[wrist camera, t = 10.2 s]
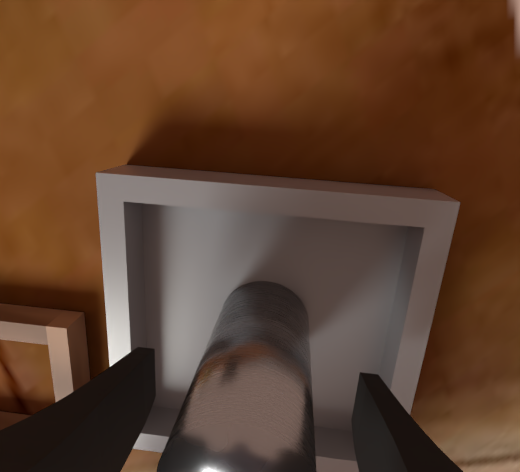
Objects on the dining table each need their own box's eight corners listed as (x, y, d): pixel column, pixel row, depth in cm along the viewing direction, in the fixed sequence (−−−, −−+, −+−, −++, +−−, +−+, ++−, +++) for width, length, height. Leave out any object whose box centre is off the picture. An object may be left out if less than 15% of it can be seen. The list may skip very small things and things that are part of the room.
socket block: (95, 437, 21) (80, 460, 19) (-37, 419, 21) (-61, 441, 20) (84, 312, 18) (66, 328, 17) (-66, 296, 19) (-95, 310, 18)
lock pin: (303, 363, 17) (308, 557, 10) (219, 354, 17) (158, 534, 10) (313, 285, 16) (327, 435, 8) (222, 276, 16) (154, 413, 9)
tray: (381, 438, 19) (393, 483, 17) (137, 407, 20) (115, 446, 18) (434, 189, 15) (460, 202, 13) (125, 164, 16) (95, 172, 14)
